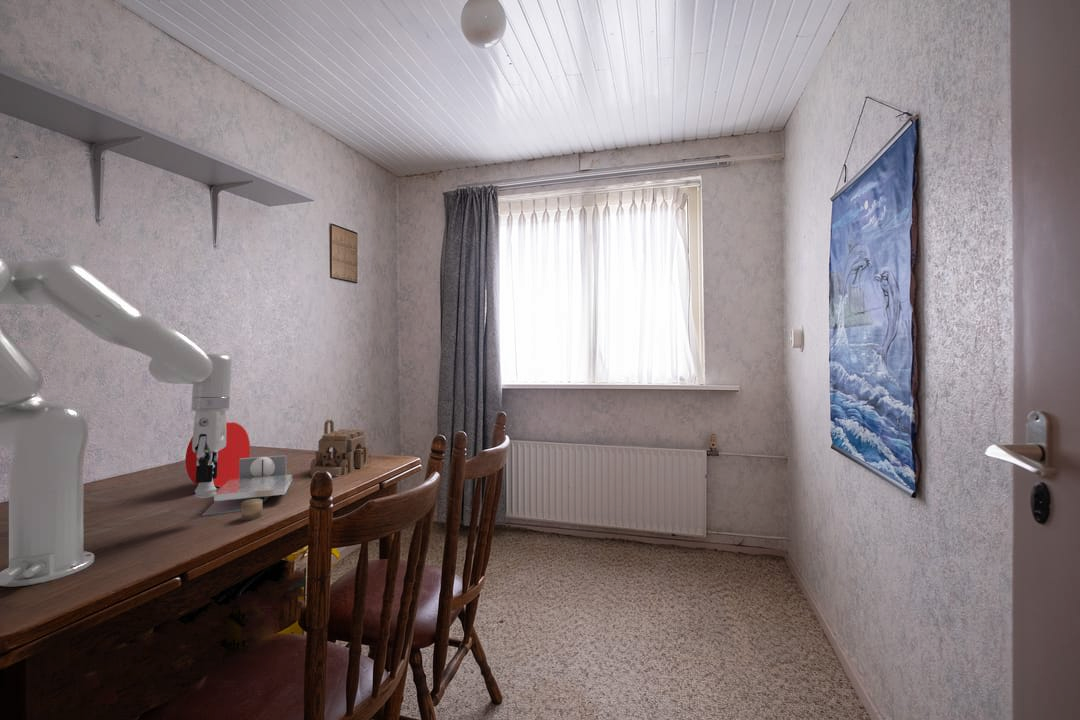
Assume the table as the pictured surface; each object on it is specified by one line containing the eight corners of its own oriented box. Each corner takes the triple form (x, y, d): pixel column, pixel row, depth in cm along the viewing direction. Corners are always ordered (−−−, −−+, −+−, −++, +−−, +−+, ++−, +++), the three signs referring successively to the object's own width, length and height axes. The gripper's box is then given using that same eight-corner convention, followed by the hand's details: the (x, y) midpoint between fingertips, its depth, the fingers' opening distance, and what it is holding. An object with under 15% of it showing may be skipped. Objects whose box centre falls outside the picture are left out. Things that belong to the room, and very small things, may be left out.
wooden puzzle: (344, 481, 151) (344, 424, 151) (303, 480, 152) (303, 424, 152) (376, 466, 173) (376, 416, 172) (339, 465, 174) (339, 415, 174)
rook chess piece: (204, 498, 109) (206, 464, 109) (189, 497, 109) (190, 463, 110) (221, 494, 113) (222, 461, 113) (206, 493, 114) (207, 461, 114)
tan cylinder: (260, 523, 112) (260, 503, 112) (239, 526, 110) (239, 505, 110) (263, 517, 116) (264, 497, 116) (243, 520, 114) (243, 499, 114)
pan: (284, 504, 124) (284, 488, 124) (213, 511, 118) (213, 494, 118) (292, 488, 139) (292, 474, 139) (229, 494, 133) (229, 479, 133)
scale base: (292, 509, 123) (292, 468, 123) (202, 518, 115) (202, 475, 115) (300, 488, 142) (300, 453, 142) (224, 495, 135) (224, 458, 135)
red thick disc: (233, 477, 155) (233, 418, 155) (250, 477, 155) (250, 418, 155) (185, 494, 135) (185, 426, 135) (204, 495, 135) (204, 427, 135)
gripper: (219, 406, 106) (215, 487, 105) (236, 402, 121) (232, 473, 121) (180, 406, 103) (175, 489, 102) (202, 402, 119) (198, 474, 118)
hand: (206, 479), depth 112 cm, fingers closed on rook chess piece, 3 cm apart
